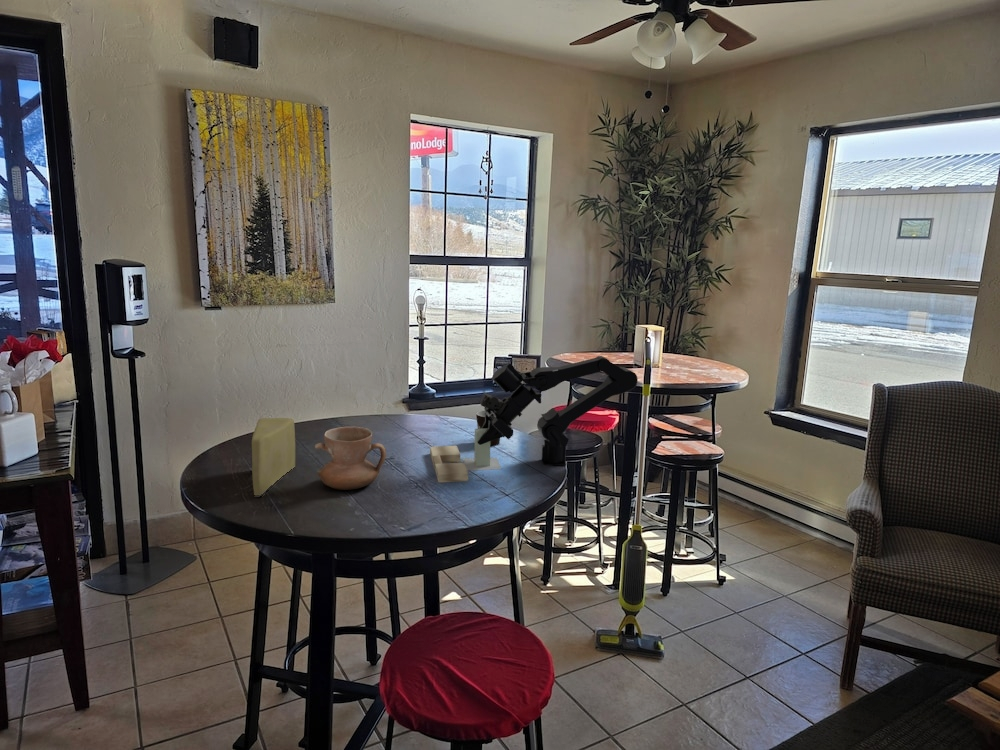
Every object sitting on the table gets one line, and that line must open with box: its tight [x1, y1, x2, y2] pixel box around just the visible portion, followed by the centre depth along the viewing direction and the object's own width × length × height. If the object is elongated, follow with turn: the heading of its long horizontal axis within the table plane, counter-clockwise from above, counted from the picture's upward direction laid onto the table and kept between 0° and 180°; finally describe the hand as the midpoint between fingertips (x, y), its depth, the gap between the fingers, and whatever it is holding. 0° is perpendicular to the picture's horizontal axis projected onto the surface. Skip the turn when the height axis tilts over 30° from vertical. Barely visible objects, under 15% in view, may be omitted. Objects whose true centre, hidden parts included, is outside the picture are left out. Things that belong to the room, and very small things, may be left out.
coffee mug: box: [475, 409, 501, 447], centre depth 206 cm, size 12×9×10 cm
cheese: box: [251, 417, 296, 495], centre depth 168 cm, size 22×10×15 cm, turn 5°
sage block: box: [473, 428, 491, 466], centre depth 185 cm, size 4×4×10 cm
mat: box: [462, 457, 503, 472], centre depth 186 cm, size 10×10×1 cm
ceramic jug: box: [314, 425, 387, 491], centre depth 167 cm, size 18×14×14 cm
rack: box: [429, 445, 469, 483], centre depth 183 cm, size 8×24×2 cm, turn 11°
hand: (477, 441), depth 184 cm, fingers closed on sage block, 4 cm apart
